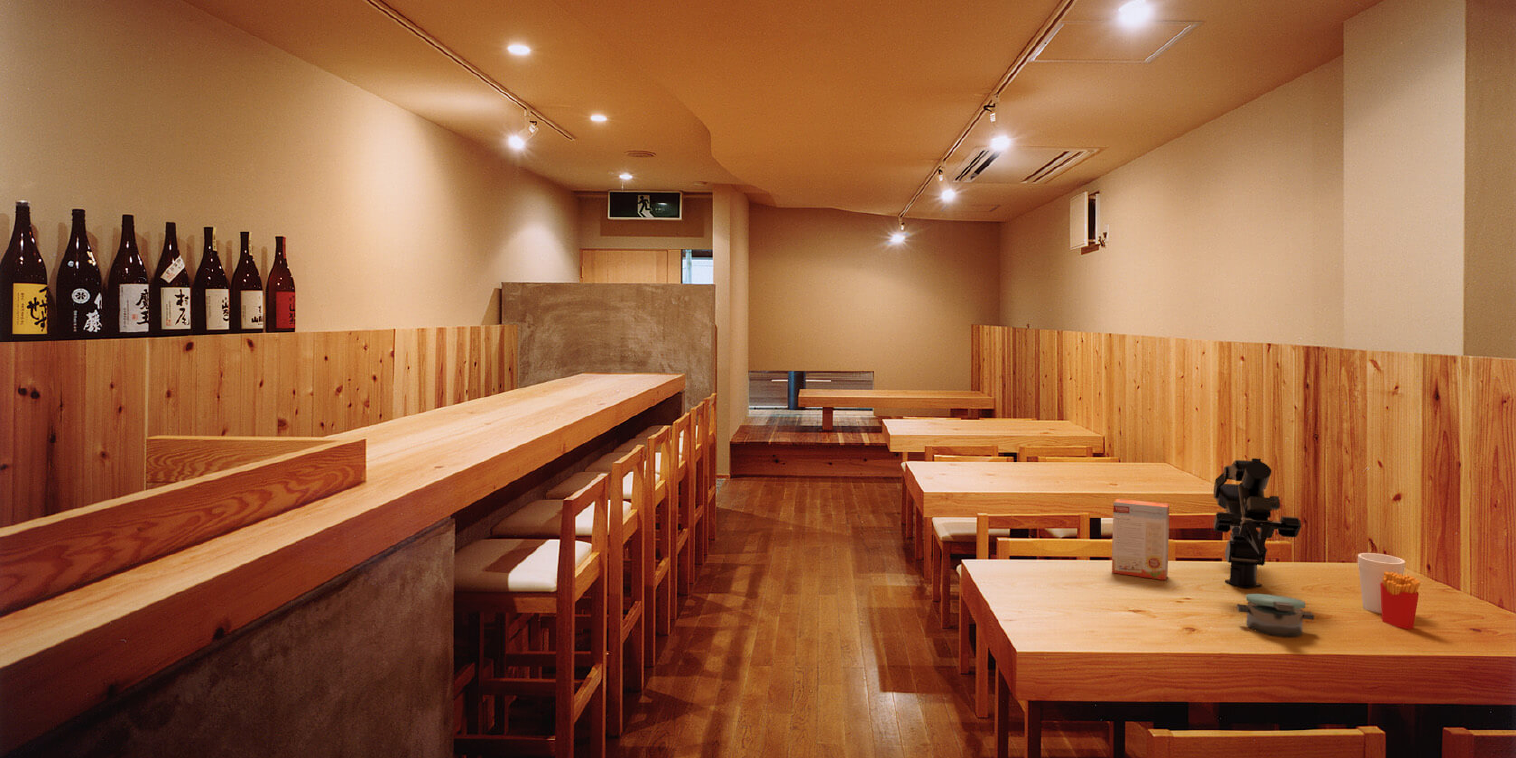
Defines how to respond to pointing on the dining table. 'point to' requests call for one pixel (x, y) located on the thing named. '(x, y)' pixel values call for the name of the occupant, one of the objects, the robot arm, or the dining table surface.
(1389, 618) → the french fries
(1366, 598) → the foam cup
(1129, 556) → the cracker box
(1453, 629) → the dining table surface
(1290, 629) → the cooker pot
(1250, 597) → the lid
